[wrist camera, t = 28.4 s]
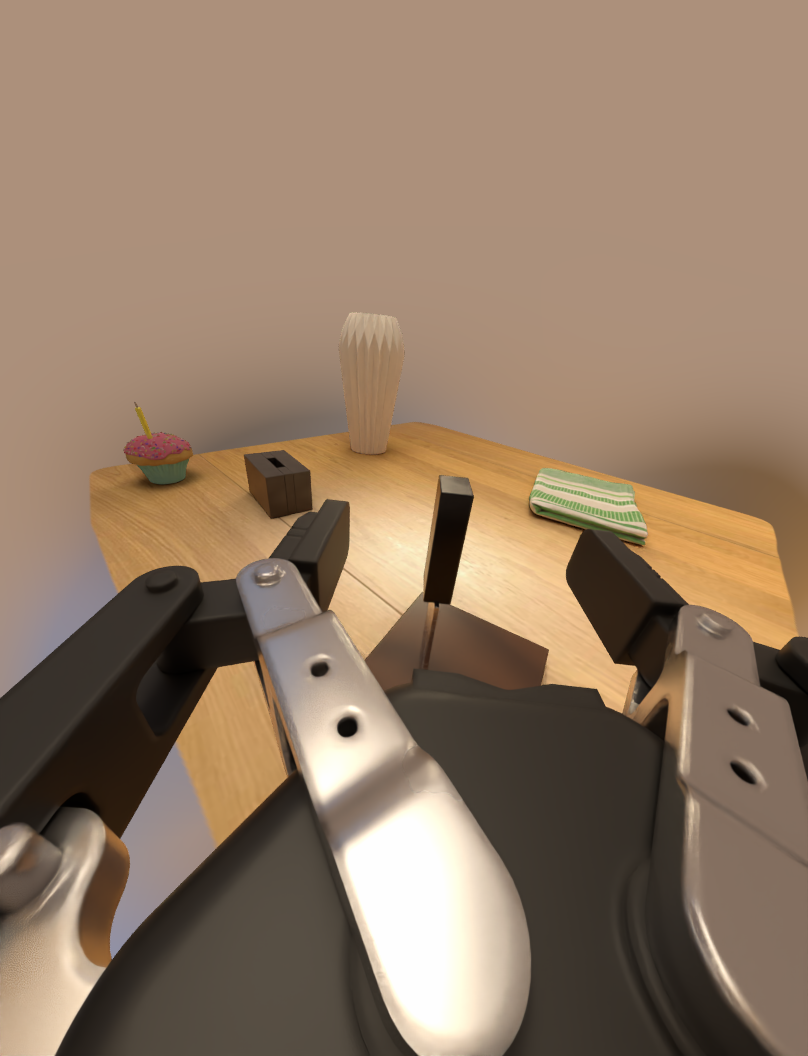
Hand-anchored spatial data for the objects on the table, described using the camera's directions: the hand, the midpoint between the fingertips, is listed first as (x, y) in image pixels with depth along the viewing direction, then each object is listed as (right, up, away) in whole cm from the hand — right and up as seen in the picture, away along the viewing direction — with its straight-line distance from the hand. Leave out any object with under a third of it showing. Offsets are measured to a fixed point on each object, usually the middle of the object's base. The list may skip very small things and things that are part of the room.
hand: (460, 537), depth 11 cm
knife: (-1, -10, +13) cm, 16 cm away
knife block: (-21, +5, +38) cm, 43 cm away
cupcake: (-40, +8, +41) cm, 58 cm away
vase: (-10, +19, +64) cm, 67 cm away
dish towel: (+30, +5, +47) cm, 56 cm away
